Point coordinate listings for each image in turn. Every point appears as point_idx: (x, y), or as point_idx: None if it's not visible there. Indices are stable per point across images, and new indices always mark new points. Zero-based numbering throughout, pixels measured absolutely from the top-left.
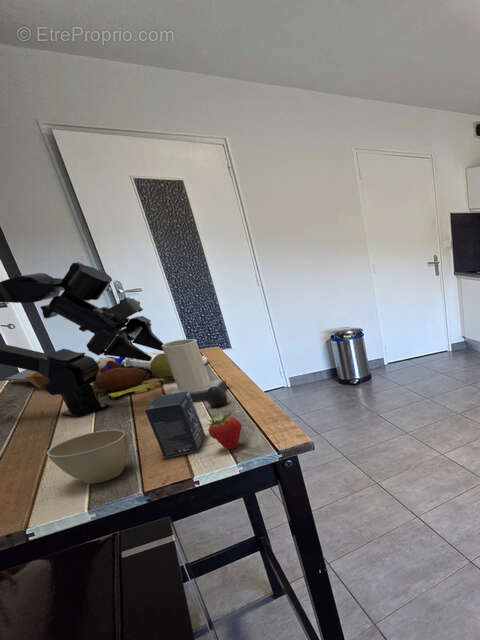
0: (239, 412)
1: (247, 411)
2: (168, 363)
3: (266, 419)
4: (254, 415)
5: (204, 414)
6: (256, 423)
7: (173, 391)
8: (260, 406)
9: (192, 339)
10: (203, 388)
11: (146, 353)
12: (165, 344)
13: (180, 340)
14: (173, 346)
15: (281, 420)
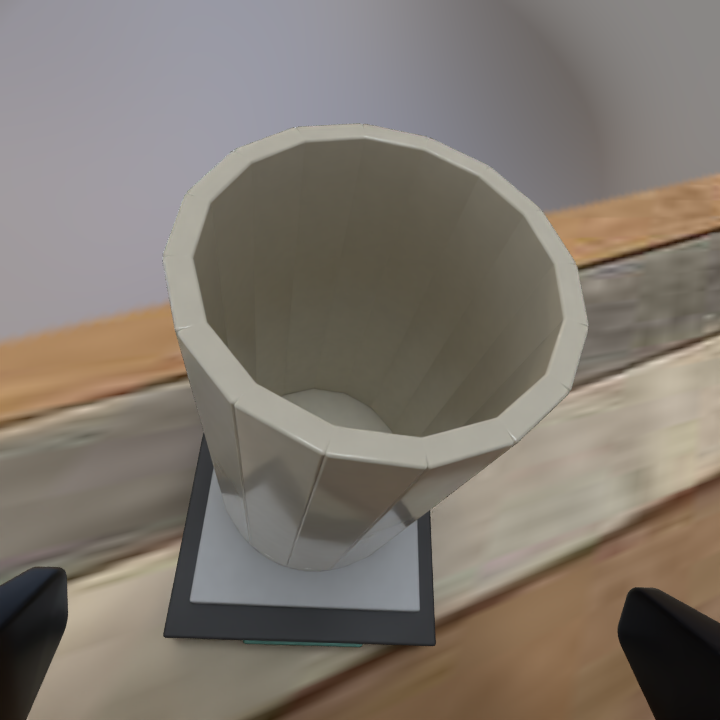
0: (609, 280)
1: (604, 259)
2: (423, 514)
3: (679, 211)
4: (644, 239)
5: (606, 395)
6: (706, 232)
7: (358, 603)
8: (565, 227)
9: (262, 149)
10: None
11: (707, 634)
12: (373, 432)
13: (196, 272)
14: (578, 285)
15: (689, 182)
